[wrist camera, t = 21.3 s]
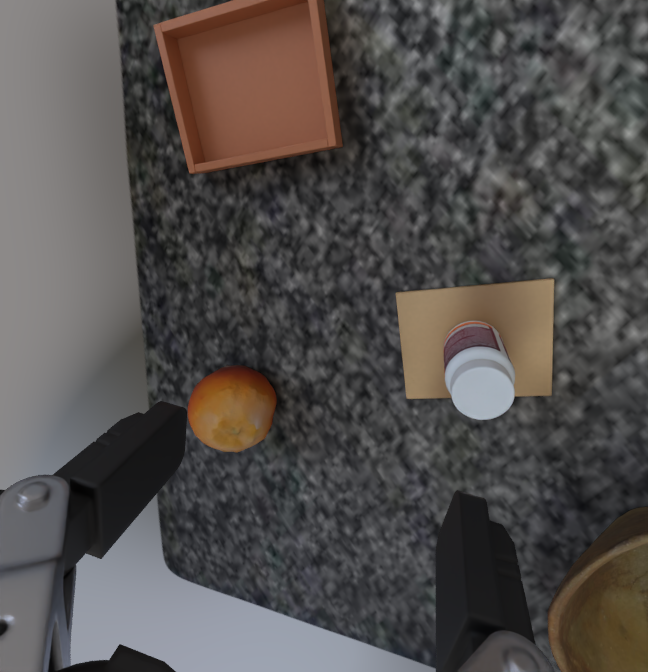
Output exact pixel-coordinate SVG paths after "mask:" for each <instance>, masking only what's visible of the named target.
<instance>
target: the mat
mask: <svg viewBox="0 0 648 672" xmlns="http://www.w3.org/2000/svg"><path fill="white" fill-rule="evenodd" d="M396 301H397V310H398V320H399V330H400V339H401V349H402V359H403V368H404V378H405V388H406V397H407V399H421V398H452V397H451V394H450V392H449V391H448V389H447V386H446V383H445V373H444V352H443V346H444V341H445V338H446V336H447V334H448V333H449V332H450V331H451V330H452V329H453V328H454V327H455V326H457V325H459V324H461V323H463V322H467V321H481V322H485V323H487V324H489V325H491V326H493V327H494V328H495V329H496V330H497V331H498V333H499V334H500V336H501V338H502V340H503V342H504V345H505V348H506V350H507V352H508V355H509V357H510V360H511V362H512V365H513V367H514V370H515V382H514V389H515V396H552V357H553V311H554V279H553V278H551V279H540V280H529V281H517V282H506V283H495V284H484V285H473V286H462V287H450V288H439V289H428V290H417V291H406V292H396Z"/></svg>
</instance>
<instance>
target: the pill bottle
mask: <svg viewBox="0 0 648 672" xmlns="http://www.w3.org/2000/svg"><path fill="white" fill-rule="evenodd" d="M443 352H444V373H445V383H446V386H447V389H448V391H449V392H450V394H451V397H452V400H453V403H454V405H455V406H456V408H457V409H458V410H459V411H460V412H461V413H463V414H464V415H466V416H468V417H470V418H474V419H479V420H486V419H492V418H495V417H498V416H500V415H502V414H503V413H505V412H506V411H507V410H508V409H509V408H510V406H511V405H512V403H513V400H514V396H515V389H514V382H515V370H514V367H513V365H512V362H511V360H510V357H509V355H508V352H507V350H506V348H505V345H504V342H503V340H502V338H501V336H500V334H499V333H498V331H497V330H496V329H495V328H494V327H493V326H491V325H489V324H487V323H485V322H481V321H467V322H463V323H461V324H459V325H457V326H455V327H454V328H453V329H452V330H451V331H450V332H449V333H448V334H447V336H446V338H445V341H444V346H443Z"/></svg>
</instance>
